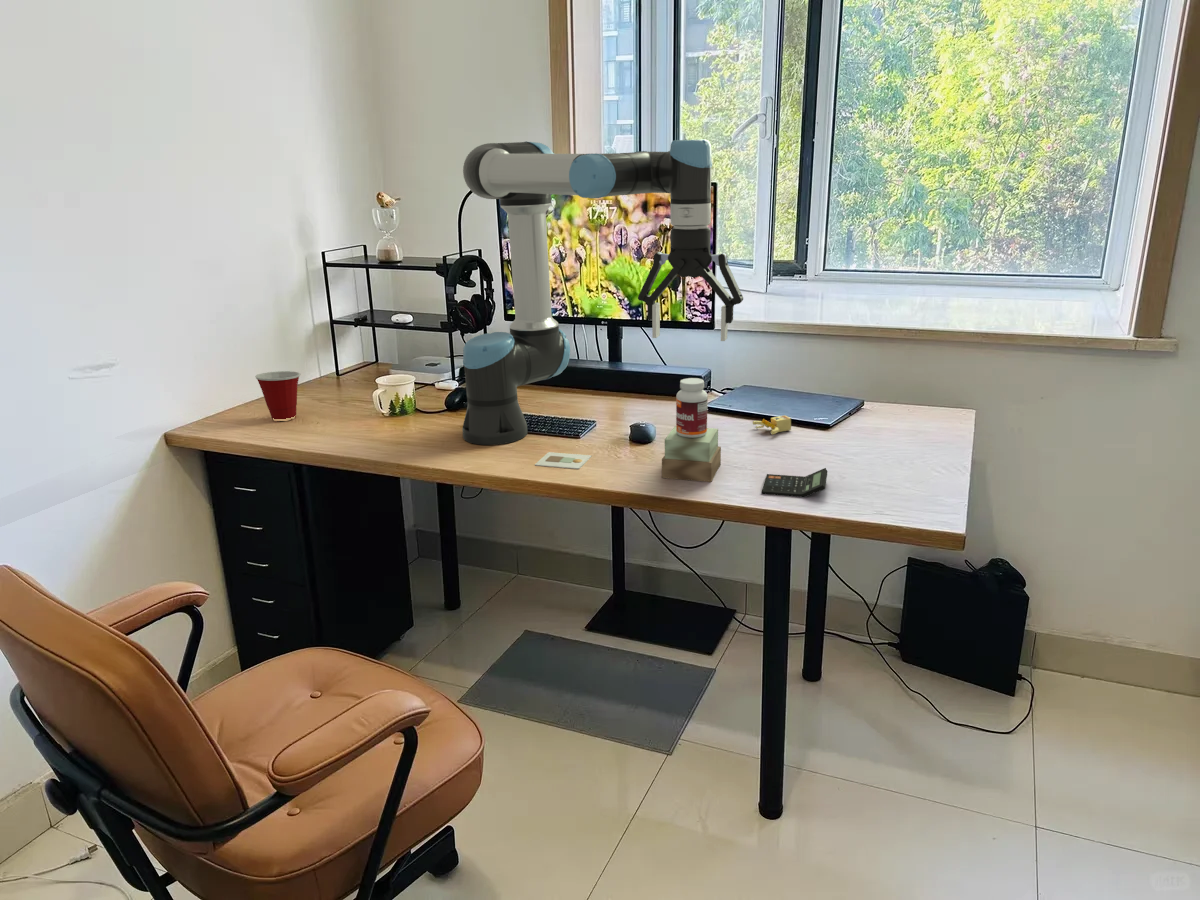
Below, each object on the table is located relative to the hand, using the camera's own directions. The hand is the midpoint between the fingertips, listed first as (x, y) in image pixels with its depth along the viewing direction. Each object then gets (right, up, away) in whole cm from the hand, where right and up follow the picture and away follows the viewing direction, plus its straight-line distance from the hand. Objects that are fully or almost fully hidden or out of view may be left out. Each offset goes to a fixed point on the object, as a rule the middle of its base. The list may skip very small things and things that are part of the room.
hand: (689, 338), depth 167 cm
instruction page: (-25, -24, +15) cm, 38 cm away
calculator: (+20, -30, -3) cm, 36 cm away
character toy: (+21, -18, +30) cm, 41 cm away
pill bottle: (+1, -19, +4) cm, 19 cm away
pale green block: (+1, -26, +7) cm, 27 cm away
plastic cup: (-99, -14, +53) cm, 113 cm away
